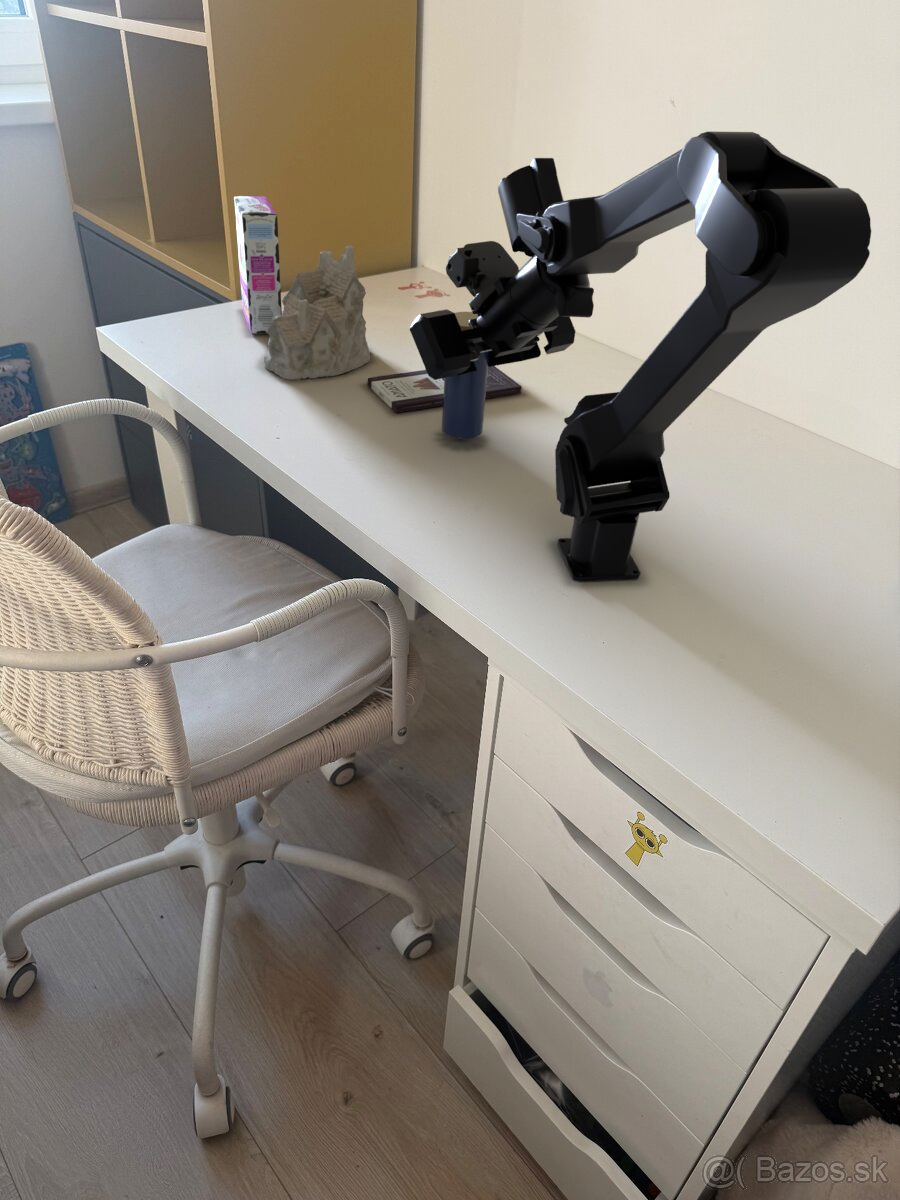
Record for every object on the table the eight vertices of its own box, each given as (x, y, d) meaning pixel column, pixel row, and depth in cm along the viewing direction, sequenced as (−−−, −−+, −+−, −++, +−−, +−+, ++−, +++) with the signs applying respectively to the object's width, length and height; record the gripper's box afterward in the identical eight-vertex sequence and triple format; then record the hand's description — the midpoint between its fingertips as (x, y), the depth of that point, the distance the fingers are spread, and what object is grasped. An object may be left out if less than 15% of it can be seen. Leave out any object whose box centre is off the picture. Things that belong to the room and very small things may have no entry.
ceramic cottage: (333, 325, 124) (326, 220, 114) (390, 368, 114) (388, 257, 104) (235, 348, 117) (219, 238, 107) (286, 396, 107) (274, 279, 97)
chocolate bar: (521, 386, 108) (396, 405, 101) (520, 393, 109) (395, 412, 102) (488, 361, 114) (367, 377, 107) (487, 367, 115) (367, 384, 108)
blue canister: (486, 439, 95) (497, 327, 87) (443, 440, 95) (450, 326, 87) (479, 420, 99) (488, 311, 91) (437, 421, 98) (443, 311, 91)
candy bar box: (285, 334, 121) (278, 213, 111) (250, 335, 120) (240, 213, 110) (274, 309, 129) (267, 194, 119) (242, 310, 128) (231, 194, 118)
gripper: (573, 212, 85) (496, 291, 98) (424, 229, 75) (361, 314, 89) (614, 312, 85) (531, 378, 98) (470, 342, 75) (400, 410, 89)
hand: (459, 368), depth 94 cm, fingers closed on blue canister, 5 cm apart
